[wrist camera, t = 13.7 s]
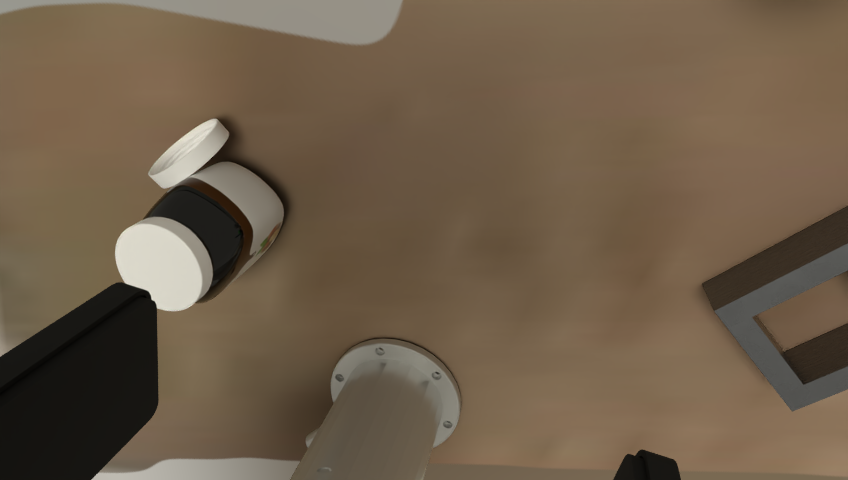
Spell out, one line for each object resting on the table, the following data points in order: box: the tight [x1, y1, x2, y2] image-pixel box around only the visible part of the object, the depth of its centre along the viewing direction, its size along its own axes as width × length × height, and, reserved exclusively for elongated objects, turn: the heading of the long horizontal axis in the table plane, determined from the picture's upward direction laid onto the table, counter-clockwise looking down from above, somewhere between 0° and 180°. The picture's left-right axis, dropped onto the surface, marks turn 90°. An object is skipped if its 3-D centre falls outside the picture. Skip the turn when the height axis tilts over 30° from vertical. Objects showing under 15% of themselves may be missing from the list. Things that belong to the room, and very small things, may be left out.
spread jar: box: [115, 119, 284, 311], centre depth 43 cm, size 12×11×12 cm
